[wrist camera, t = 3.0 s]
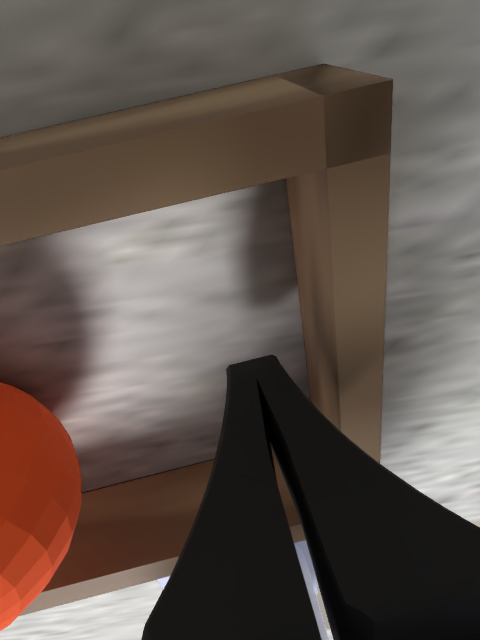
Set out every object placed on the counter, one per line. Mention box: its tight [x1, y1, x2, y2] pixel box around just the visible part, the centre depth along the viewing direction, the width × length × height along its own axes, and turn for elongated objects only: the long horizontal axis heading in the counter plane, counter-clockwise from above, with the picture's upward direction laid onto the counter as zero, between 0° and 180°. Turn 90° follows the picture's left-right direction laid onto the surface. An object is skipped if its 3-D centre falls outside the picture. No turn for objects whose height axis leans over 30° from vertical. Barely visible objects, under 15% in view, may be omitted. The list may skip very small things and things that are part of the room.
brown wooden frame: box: [0, 64, 393, 616], centre depth 12 cm, size 14×17×4 cm
